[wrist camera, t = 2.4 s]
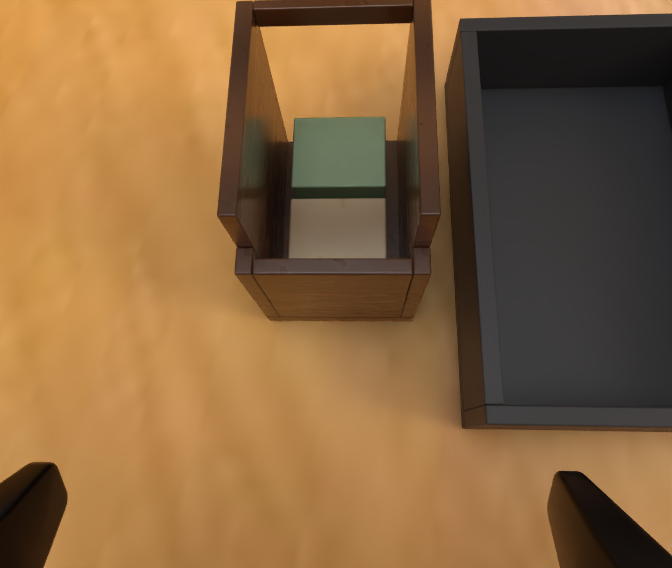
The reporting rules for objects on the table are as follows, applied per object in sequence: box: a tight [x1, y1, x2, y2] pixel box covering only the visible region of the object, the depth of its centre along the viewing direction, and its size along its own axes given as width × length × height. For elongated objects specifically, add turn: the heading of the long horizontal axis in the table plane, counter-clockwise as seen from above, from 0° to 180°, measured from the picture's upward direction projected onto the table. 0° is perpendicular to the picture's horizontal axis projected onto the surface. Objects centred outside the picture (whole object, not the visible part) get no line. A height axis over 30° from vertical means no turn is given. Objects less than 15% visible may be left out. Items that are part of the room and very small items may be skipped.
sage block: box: [291, 117, 386, 199], centre depth 24 cm, size 3×4×3 cm
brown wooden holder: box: [217, 0, 441, 321], centre depth 21 cm, size 9×7×10 cm
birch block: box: [288, 198, 387, 258], centre depth 23 cm, size 3×4×3 cm
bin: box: [445, 14, 672, 432], centre depth 22 cm, size 17×11×5 cm, turn 179°
